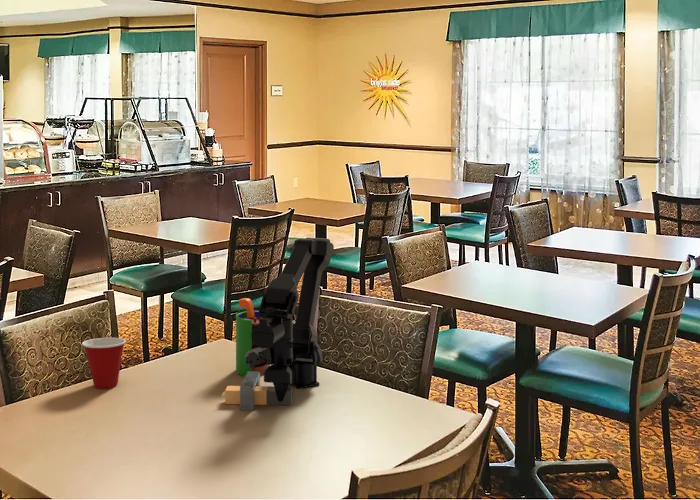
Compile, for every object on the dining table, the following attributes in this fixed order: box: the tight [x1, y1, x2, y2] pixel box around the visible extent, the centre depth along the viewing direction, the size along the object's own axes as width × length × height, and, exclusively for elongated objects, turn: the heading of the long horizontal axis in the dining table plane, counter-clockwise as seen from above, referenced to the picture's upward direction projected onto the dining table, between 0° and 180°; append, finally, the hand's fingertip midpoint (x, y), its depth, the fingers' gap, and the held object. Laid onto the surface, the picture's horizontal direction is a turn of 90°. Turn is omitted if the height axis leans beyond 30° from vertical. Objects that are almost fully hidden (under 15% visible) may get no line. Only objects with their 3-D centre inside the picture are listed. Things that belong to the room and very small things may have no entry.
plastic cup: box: [81, 337, 127, 390], centre depth 202 cm, size 11×11×12 cm
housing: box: [239, 371, 261, 411], centre depth 192 cm, size 3×11×6 cm, turn 178°
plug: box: [221, 385, 294, 406], centre depth 192 cm, size 17×3×3 cm, turn 89°
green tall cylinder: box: [235, 297, 271, 377], centre depth 214 cm, size 10×9×20 cm
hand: (281, 398), depth 192 cm, fingers closed on plug, 3 cm apart
